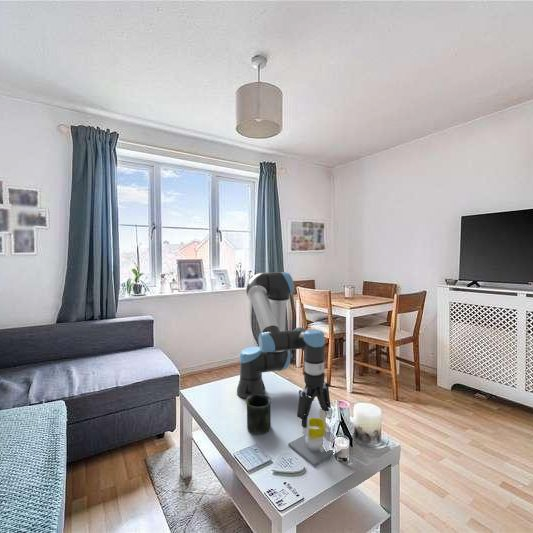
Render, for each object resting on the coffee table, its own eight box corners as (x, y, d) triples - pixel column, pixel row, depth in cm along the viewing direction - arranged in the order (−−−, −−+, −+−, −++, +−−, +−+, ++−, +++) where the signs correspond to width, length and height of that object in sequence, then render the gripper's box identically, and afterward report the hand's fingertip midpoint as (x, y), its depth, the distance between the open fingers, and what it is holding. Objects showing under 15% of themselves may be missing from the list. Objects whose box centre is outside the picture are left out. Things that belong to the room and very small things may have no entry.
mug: (249, 438, 119) (249, 409, 119) (242, 418, 133) (241, 392, 133) (275, 433, 122) (274, 405, 122) (265, 414, 136) (264, 389, 136)
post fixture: (288, 445, 114) (288, 433, 114) (314, 432, 123) (314, 420, 122) (314, 466, 103) (314, 453, 103) (340, 450, 111) (341, 437, 111)
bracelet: (329, 432, 112) (329, 423, 112) (315, 441, 107) (315, 432, 107) (314, 423, 118) (314, 415, 118) (300, 431, 113) (300, 423, 112)
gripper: (300, 382, 102) (300, 446, 103) (340, 368, 114) (340, 425, 115) (286, 375, 108) (286, 435, 109) (326, 362, 120) (326, 417, 122)
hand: (314, 430), depth 112 cm, fingers closed on bracelet, 8 cm apart
